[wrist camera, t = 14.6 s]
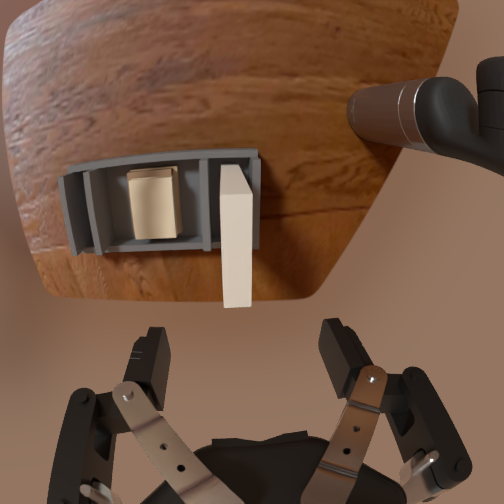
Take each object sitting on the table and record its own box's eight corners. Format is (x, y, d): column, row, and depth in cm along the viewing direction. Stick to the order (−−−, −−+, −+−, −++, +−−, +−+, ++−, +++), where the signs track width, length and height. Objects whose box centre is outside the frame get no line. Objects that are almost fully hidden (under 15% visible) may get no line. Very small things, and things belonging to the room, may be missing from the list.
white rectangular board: (237, 163, 38) (252, 194, 20) (238, 228, 42) (251, 306, 24) (221, 163, 38) (219, 194, 20) (222, 229, 42) (224, 307, 24)
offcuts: (178, 164, 37) (173, 168, 33) (182, 229, 41) (178, 240, 37) (133, 168, 36) (123, 173, 32) (140, 231, 41) (131, 242, 37)
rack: (254, 148, 38) (260, 151, 32) (253, 236, 44) (259, 255, 38) (79, 163, 36) (56, 170, 29) (91, 243, 41) (73, 261, 35)
